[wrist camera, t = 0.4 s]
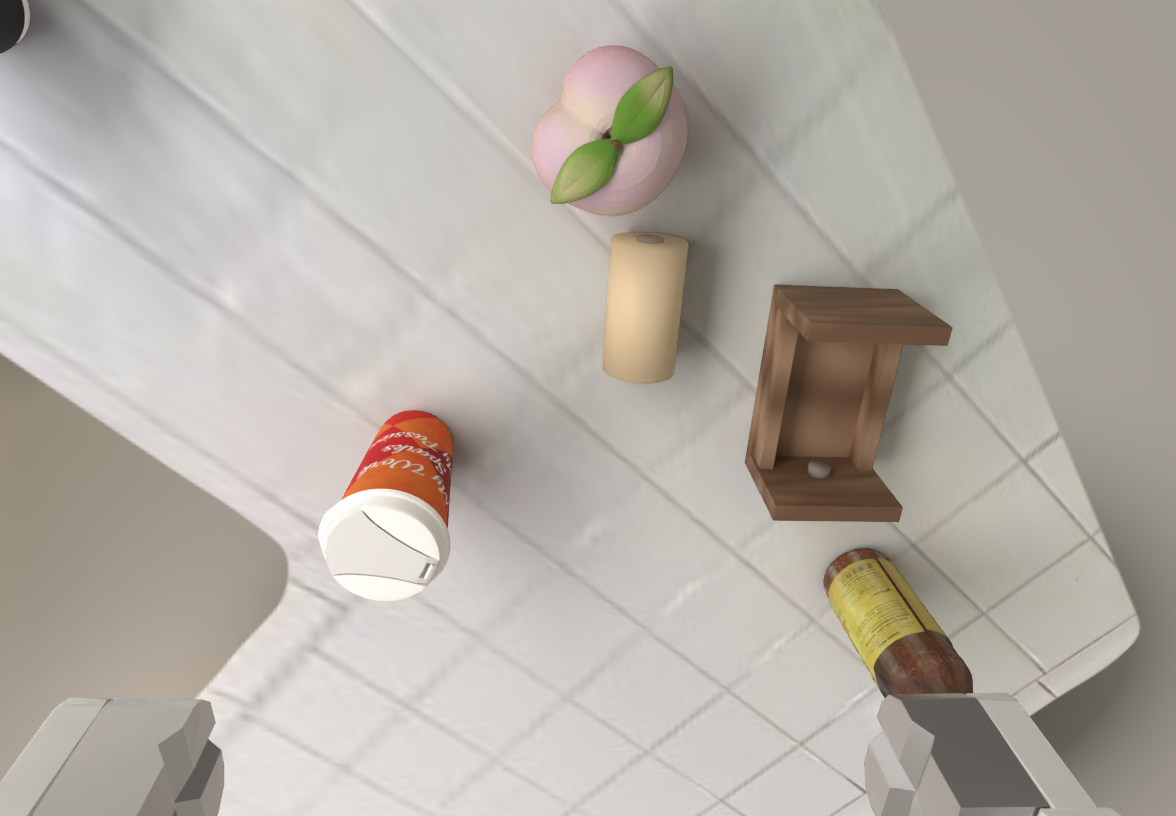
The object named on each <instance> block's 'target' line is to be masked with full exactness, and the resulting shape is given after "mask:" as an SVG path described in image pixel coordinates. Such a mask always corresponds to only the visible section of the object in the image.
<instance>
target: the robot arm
mask: <svg viewBox="0 0 1176 816" xmlns="http://www.w3.org/2000/svg"><path fill="white" fill-rule="evenodd" d="M877 718H878V720H879V722H880V724H881V726H882V728H883V730H884V731H883V732H882V733H880V734H879V735H878V736H877V737H876V738H874V739H873V740H872V741H871V742H870V743H869V745H868V749H867V753H866V758H865V762H864V768H865V786H866V790H867V794H868V797H869V801H870V805H871V807H872V809H873V812H874V814H875V816H1121V815H1120V814H1118V813H1117V812H1115V811H1114V810H1112V809H1111V808H1097V807H1096V806H1095V804H1094V803H1093V802H1092V800H1091V799H1090V797H1089V796H1088V795H1087V793H1086V792H1085V791H1084V789H1083V788H1082V787H1081V785H1080V784H1079V783H1078V781H1077V780H1076V778H1075V777H1074V776H1073V774H1072V773H1071V772H1070V771H1069V769H1068V768H1067V766H1066V765H1065V764H1064V762H1063V761H1062V760H1061V758H1060V757H1059V756H1058V754H1057V753H1056V752H1055V750H1054V749H1053V748H1052V746H1051V745H1050V743H1049V742H1048V741H1047V739H1046V738H1045V737H1044V735H1043V734H1042V733H1041V731H1040V730H1039V729H1038V727H1037V726H1036V725H1035V723H1034V722H1033V721H1032V719H1031V718H1030V716H1029V715H1028V714H1027V712H1026V711H1025V710H1024V708H1023V707H1022V706H1021V704H1020V703H1019V702H1018V701H1017V700H1016V699H1015V698H1014V697H1012V696H1011V695H1009V694H1008V693H967V694H962V693H950V694H893V695H888V696H887V697H886V698H885V699H884V700H883V701H882V702H881V706H880V709H879V712H878V715H877ZM215 723H216V722H215V718H214V715H213V711H212V707H211V703H210V702H209V701H205V700H198V699H145V698H114V699H106V698H68V699H67V700H65V701H64V702H62V703H61V704H59V705H58V706H56V707H55V708H54V709H53V710H52V712H51V713H50V714H49V716H48V717H47V719H46V720H45V721H44V723H43V724H42V725H41V727H40V728H39V730H38V731H37V732H36V734H35V735H34V737H33V738H32V739H31V741H30V742H29V743H28V745H27V746H26V747H25V749H24V750H23V751H22V753H21V754H20V756H19V757H18V758H17V760H16V761H15V763H14V764H13V765H12V767H11V768H10V769H9V771H8V772H7V773H6V775H5V776H4V778H3V779H2V780H1V782H0V816H217V815H218V812H219V807H220V803H221V798H222V793H223V788H224V762H223V756H222V751H221V750H220V749H219V748H218V747H217V746H216V745H215V744H213V743H212V742H211V741H210V740H209V739H208V738H209V736H210V734H211V731H212V729H213V727H214V725H215Z"/></svg>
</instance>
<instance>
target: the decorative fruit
mask: <svg viewBox="0 0 1176 816" xmlns="http://www.w3.org/2000/svg"><path fill="white" fill-rule="evenodd" d="M687 138H688V120H687V114H686V110H685V107H684V104H683V101H682V99H681V97H680V95H679V93H678V92H677V90H676V89H675V87H674V86H673V68H672V67H671V66H670V67H665V68H661V69H659V68H658V67H657V66H656V65H655V64H654V63H653V62H652V61H651V60H650V59H649V58H647V57H646V56H644V55H643V54H642V53H640V52H638V51H636V50H633V49H630V48H627V47H623V46H610V45H609V46H604V47H598V48H596V49H594V50H592V51H590V52H588V53H586V54H585V55H584V56H582V57H581V58H580V59H579V60H578V61H577V62H576V63H575V64H574V65H573V66H572V68H571V69H570V70H569V72H568V74H567V76H566V79H565V82H564V84H563V90H562V95H561V99H560V101H559V102H558V103H557V104H555V105H554V106H553V107H551V108H550V109H549V110H548V111H547V112H546V113H545V114H544V115H543V117H542V118H541V119H540V121H539V122H538V125H537V127H536V129H535V132H534V136H533V141H532V160H533V163H534V167H535V170H536V172H537V174H538V176H539V178H540V179H541V181H542V182H543V184H544V185H545V186H546V187H547V188H548V189H549V190H550V191H551V192H552V193H551V203H552V204H564V203H568V204H570V205H572V206H574V207H577V208H579V209H582V210H585V211H588V212H591V213H594V214H598V215H603V216H619V215H624V214H628V213H631V212H634V211H636V210H638V209H641V208H642V207H644V206H646V205H647V204H649V203H651V202H652V201H653V200H654V199H655V198H656V197H658V196H659V195H660V194H661V192H662V191H663V190H664V189H665V188H666V186H667V185H668V183H669V182H670V180H671V179H672V177H673V176H674V174H675V173H676V171H677V170H678V168H679V166H680V164H681V161H682V159H683V156H684V152H685V148H686V144H687Z"/></svg>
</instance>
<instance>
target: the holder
mask: <svg viewBox="0 0 1176 816" xmlns="http://www.w3.org/2000/svg"><path fill="white" fill-rule="evenodd" d="M951 331H952V327H951V326H950V325H948V324H947V323H945V322H944V321H942V320H941V319H940V318H938V317H937V316H935V315H934V314H932V313H931V312H929V311H928V310H927V309H925V308H924V307H922V306H921V305H919V304H918V303H916V302H915V301H914V300H912V299H911V298H909V297H908V296H906V295H905V294H903V293H902V292H901V291H899V290H898V289H873V288H846V287H818V286H791V285H774V290H773V296H772V302H771V308H770V314H769V320H768V326H767V332H766V338H765V344H764V350H763V356H762V362H761V368H760V374H759V380H758V386H757V393H756V399H755V405H754V411H753V417H752V423H751V429H750V435H749V441H748V447H747V453H746V459H745V464H746V466H747V468H748V470H749V472H750V474H751V476H752V478H753V480H754V482H755V484H756V486H757V488H758V490H759V492H760V494H761V496H762V498H763V500H764V503H765V505H766V507H767V509H768V511H769V513H770V515H771V517H772V519H773V520H779V521H864V522H899V520H900V516H901V512H902V509H903V507H902V506H901V504H900V503H899V502H898V501H897V499H896V498H895V497H894V495H893V494H892V493H891V492H890V490H889V489H888V488H887V487H886V485H885V484H884V483H883V481H882V480H881V479H880V478H879V476H878V475H877V474H876V472H875V471H874V470H873V469H872V467H873V463H874V459H875V455H876V451H877V447H878V443H879V439H880V435H881V431H882V427H883V423H884V419H885V415H886V411H887V407H888V403H889V399H890V395H891V391H892V387H893V383H894V379H895V375H896V371H897V367H898V363H899V359H900V355H901V351H902V347H903V344H910V345H942V346H948V342H949V339H950V335H951Z"/></svg>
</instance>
